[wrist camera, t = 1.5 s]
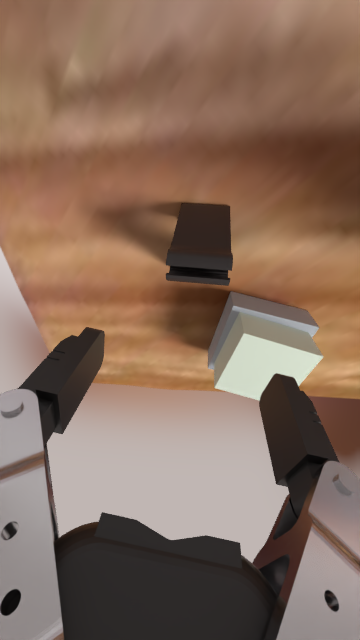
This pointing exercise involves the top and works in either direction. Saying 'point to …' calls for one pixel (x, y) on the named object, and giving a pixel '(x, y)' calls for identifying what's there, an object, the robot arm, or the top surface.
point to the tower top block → (262, 356)
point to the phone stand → (201, 245)
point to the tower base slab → (262, 310)
